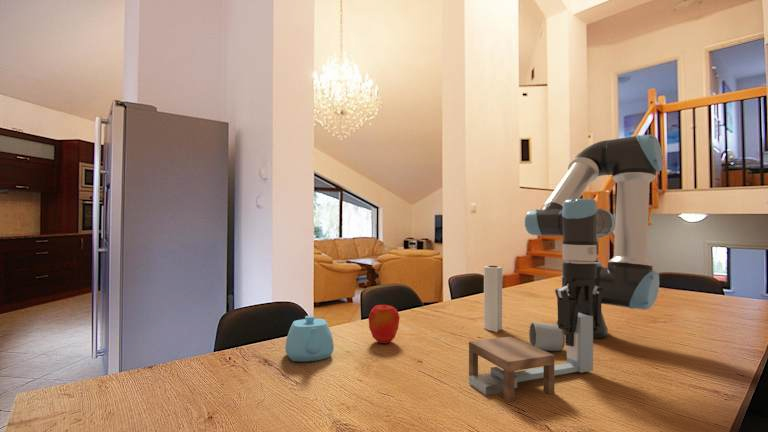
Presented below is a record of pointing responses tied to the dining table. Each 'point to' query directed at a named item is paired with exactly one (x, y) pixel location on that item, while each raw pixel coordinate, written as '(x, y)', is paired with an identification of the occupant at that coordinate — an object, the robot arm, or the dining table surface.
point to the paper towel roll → (493, 298)
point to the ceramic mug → (546, 336)
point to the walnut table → (512, 360)
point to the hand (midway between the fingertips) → (579, 357)
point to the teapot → (309, 340)
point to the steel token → (487, 383)
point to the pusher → (582, 365)
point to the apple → (383, 323)
